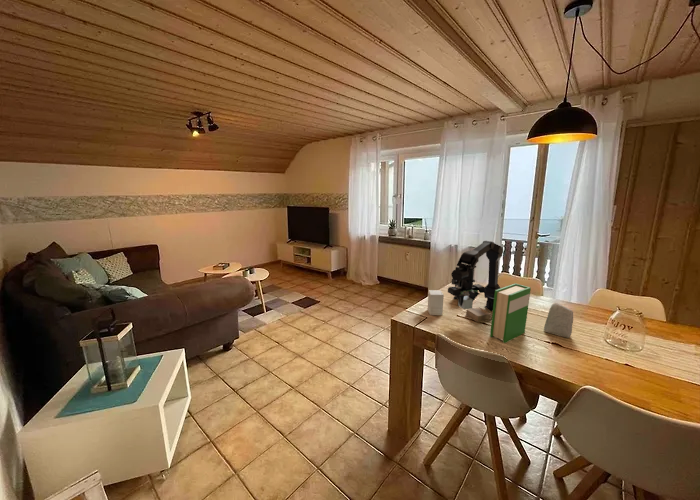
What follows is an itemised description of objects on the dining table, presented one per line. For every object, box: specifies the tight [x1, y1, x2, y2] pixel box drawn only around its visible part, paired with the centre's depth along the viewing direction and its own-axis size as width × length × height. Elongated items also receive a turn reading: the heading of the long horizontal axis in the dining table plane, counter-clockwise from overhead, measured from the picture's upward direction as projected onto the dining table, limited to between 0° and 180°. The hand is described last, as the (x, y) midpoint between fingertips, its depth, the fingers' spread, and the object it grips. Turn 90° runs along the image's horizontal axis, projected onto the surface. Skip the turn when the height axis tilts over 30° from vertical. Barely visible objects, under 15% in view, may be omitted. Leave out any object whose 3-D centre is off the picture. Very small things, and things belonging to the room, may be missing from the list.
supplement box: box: [427, 289, 445, 316], centre depth 164 cm, size 7×7×13 cm
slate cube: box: [457, 296, 474, 310], centre depth 149 cm, size 5×5×5 cm
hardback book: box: [489, 282, 532, 344], centre depth 137 cm, size 18×7×24 cm, turn 122°
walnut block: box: [465, 306, 492, 323], centre depth 158 cm, size 9×9×4 cm
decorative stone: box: [543, 302, 574, 339], centre depth 139 cm, size 11×6×15 cm, turn 39°
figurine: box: [453, 285, 469, 300], centre depth 182 cm, size 9×12×15 cm
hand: (465, 305), depth 149 cm, fingers closed on slate cube, 5 cm apart
